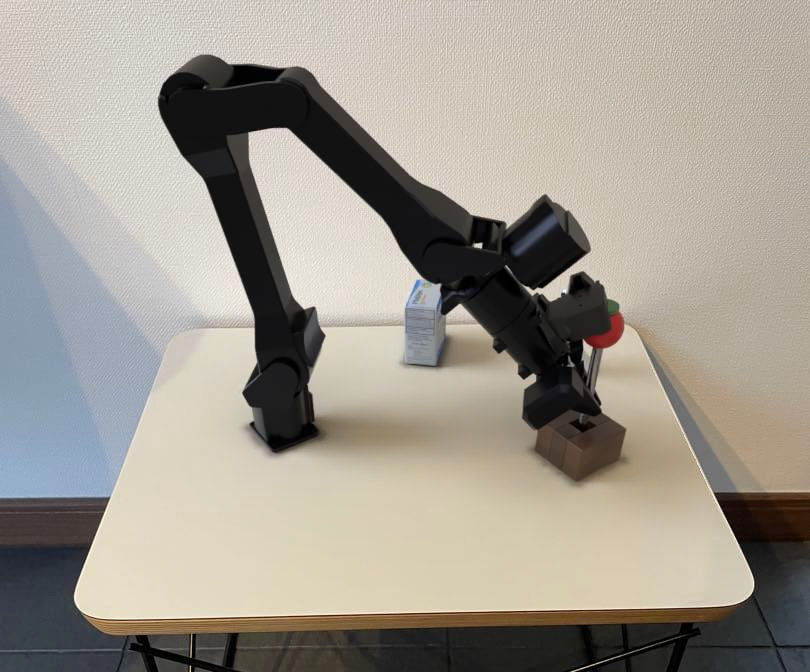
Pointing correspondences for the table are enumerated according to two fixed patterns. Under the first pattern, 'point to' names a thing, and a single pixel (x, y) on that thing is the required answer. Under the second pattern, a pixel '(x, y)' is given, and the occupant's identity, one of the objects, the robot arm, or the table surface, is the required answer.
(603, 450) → the stand
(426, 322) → the medicine box
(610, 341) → the lever
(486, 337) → the table surface
